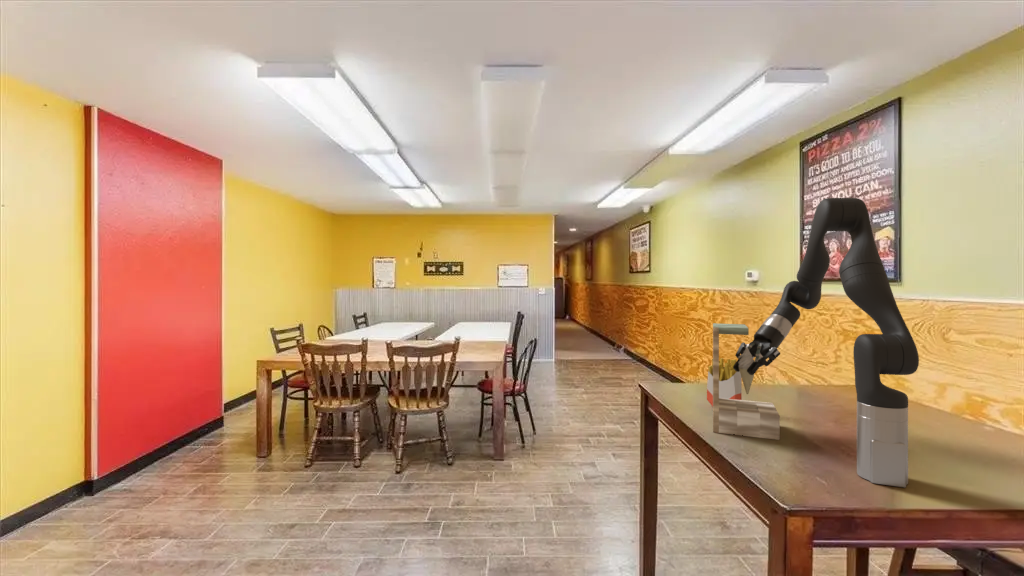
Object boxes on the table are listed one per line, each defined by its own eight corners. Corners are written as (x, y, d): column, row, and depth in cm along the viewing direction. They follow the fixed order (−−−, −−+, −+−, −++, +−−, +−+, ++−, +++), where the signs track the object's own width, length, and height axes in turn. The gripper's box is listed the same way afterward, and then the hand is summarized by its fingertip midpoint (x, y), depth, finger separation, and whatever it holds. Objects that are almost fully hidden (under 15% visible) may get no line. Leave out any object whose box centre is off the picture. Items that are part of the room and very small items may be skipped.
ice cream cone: (752, 392, 145) (752, 345, 145) (759, 396, 140) (759, 347, 140) (735, 392, 145) (735, 344, 145) (742, 395, 140) (741, 347, 140)
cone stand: (779, 439, 132) (779, 329, 132) (713, 432, 139) (713, 327, 139) (772, 424, 146) (772, 325, 146) (712, 418, 153) (712, 323, 153)
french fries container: (734, 413, 160) (734, 361, 160) (706, 406, 169) (706, 357, 169) (741, 411, 163) (741, 360, 163) (713, 404, 172) (713, 356, 172)
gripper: (748, 322, 151) (718, 360, 148) (785, 325, 137) (753, 367, 134) (761, 337, 153) (732, 375, 149) (799, 342, 139) (768, 384, 136)
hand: (742, 371), depth 142 cm, fingers closed on ice cream cone, 5 cm apart
